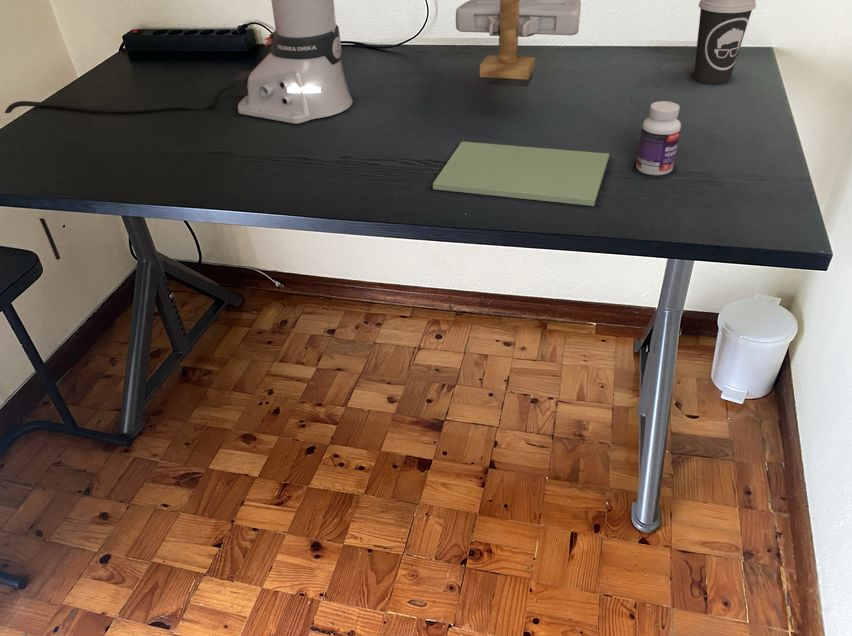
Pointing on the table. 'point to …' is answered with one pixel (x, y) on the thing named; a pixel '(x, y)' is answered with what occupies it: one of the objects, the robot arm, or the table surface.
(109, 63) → the table surface
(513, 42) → the scrub brush
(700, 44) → the coffee cup
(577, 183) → the mat
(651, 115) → the pill bottle
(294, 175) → the table surface
